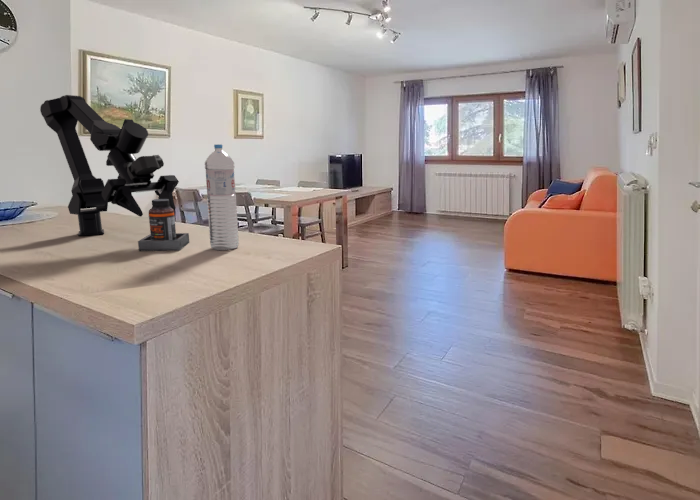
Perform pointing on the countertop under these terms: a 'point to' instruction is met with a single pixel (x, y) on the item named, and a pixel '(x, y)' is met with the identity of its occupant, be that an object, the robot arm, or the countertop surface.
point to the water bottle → (221, 200)
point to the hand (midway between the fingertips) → (158, 213)
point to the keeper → (164, 243)
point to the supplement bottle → (162, 220)
